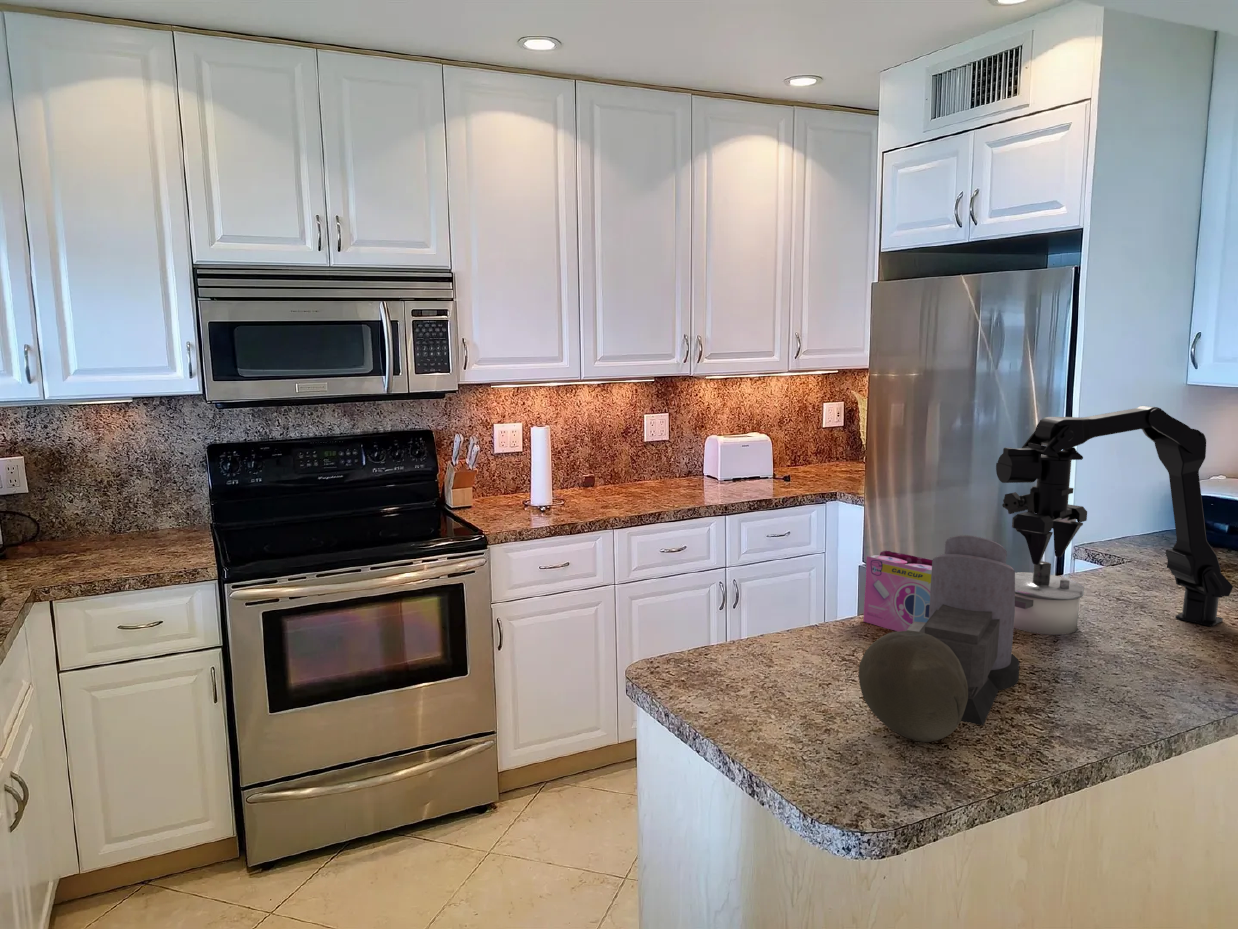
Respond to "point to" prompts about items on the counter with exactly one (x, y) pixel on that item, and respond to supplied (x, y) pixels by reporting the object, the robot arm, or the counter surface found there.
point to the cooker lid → (1046, 584)
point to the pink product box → (897, 590)
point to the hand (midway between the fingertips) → (1047, 560)
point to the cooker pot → (1046, 615)
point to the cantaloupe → (914, 685)
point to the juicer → (975, 617)
